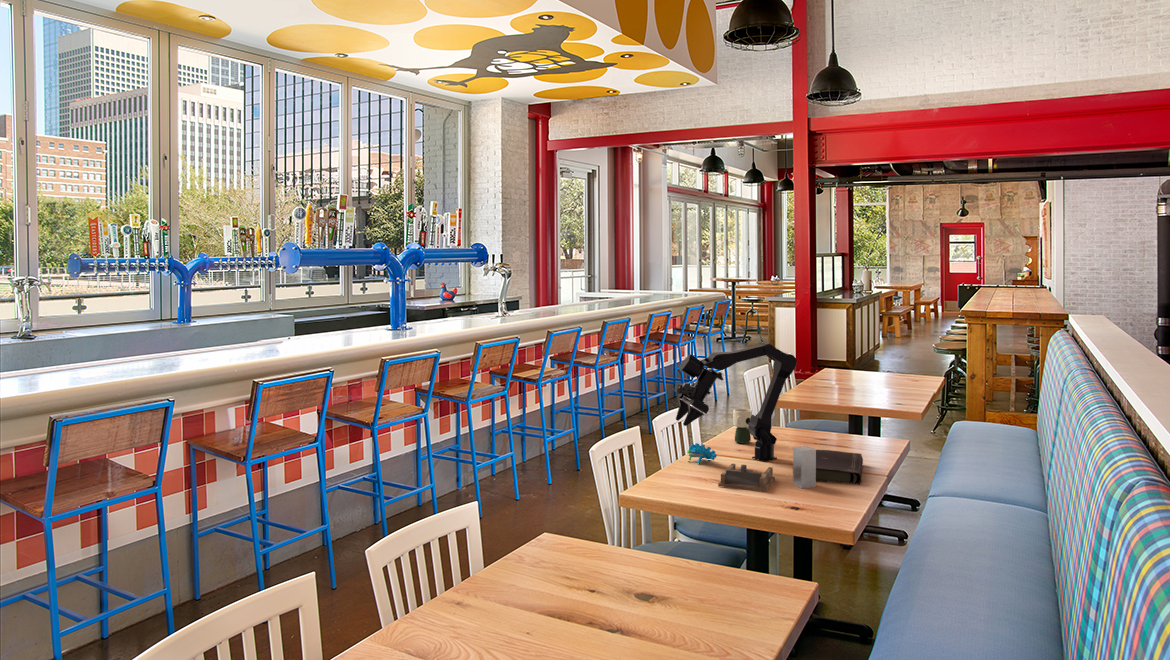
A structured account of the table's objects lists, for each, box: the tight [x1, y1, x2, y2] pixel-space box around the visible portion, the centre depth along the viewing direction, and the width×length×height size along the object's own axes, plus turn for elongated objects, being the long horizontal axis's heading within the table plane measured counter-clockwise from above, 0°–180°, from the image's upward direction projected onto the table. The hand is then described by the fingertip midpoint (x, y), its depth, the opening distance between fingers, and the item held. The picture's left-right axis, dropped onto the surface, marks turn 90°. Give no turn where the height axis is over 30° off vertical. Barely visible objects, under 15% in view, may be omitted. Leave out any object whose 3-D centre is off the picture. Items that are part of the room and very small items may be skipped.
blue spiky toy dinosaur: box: [686, 442, 718, 464], centre depth 270 cm, size 11×6×10 cm
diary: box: [816, 449, 864, 486], centre depth 255 cm, size 19×25×5 cm
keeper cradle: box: [717, 463, 776, 493], centre depth 244 cm, size 14×15×7 cm
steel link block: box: [792, 445, 817, 489], centre depth 240 cm, size 5×5×12 cm
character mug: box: [732, 408, 753, 444], centre depth 298 cm, size 11×7×13 cm, turn 147°
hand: (680, 422), depth 268 cm, fingers open, 9 cm apart
